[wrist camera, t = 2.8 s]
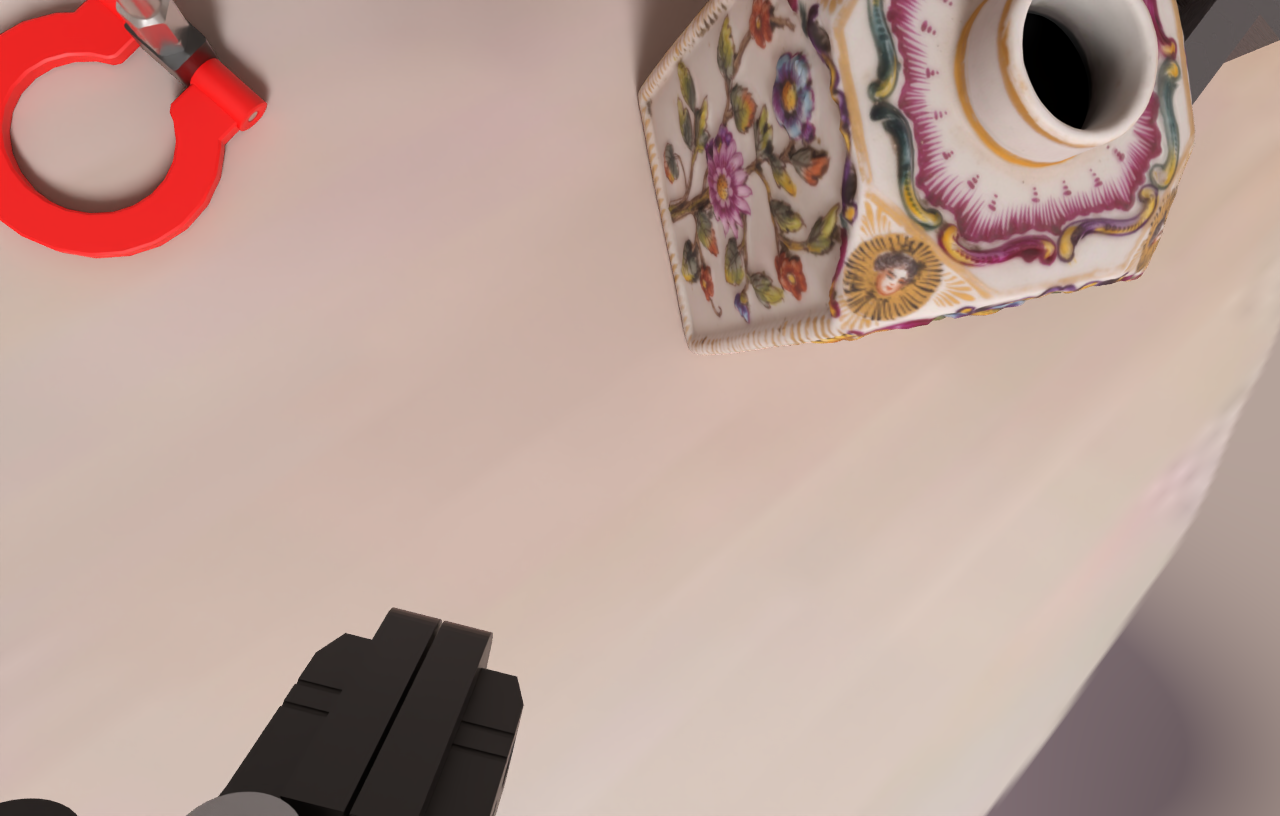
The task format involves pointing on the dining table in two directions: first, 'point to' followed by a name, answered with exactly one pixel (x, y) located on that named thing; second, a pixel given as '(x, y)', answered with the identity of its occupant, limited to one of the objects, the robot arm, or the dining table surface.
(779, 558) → the dining table surface
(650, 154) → the decorative jar
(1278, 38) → the grey tray
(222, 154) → the tow hook
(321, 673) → the robot arm
